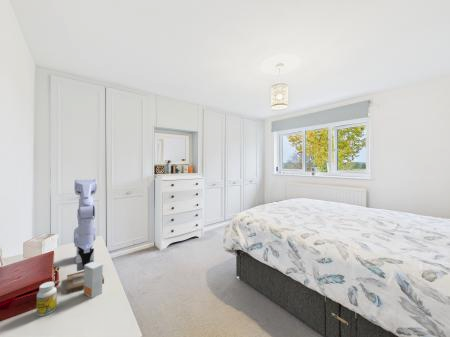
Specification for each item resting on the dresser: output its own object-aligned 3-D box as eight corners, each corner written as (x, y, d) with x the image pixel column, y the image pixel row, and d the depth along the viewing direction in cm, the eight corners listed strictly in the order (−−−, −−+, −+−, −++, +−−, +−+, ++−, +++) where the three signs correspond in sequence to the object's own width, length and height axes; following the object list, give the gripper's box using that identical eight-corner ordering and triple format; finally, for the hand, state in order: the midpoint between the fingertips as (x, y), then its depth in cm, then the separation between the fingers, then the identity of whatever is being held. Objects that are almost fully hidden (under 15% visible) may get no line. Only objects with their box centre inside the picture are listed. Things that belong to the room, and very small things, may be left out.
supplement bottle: (59, 304, 75) (60, 279, 75) (50, 315, 70) (51, 288, 69) (42, 306, 74) (43, 281, 73) (32, 317, 68) (32, 289, 68)
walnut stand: (66, 279, 91) (66, 274, 91) (100, 270, 99) (100, 266, 99) (66, 294, 81) (66, 289, 81) (103, 283, 89) (103, 278, 89)
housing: (92, 263, 93) (93, 248, 93) (93, 267, 90) (93, 251, 90) (76, 267, 90) (77, 251, 89) (77, 271, 86) (77, 255, 86)
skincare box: (83, 294, 81) (83, 264, 81) (94, 288, 85) (94, 260, 85) (91, 299, 78) (92, 268, 78) (102, 293, 82) (103, 264, 82)
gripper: (74, 230, 93) (74, 259, 93) (75, 239, 81) (74, 272, 82) (92, 227, 97) (92, 255, 97) (95, 236, 86) (95, 267, 86)
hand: (85, 263), depth 90 cm, fingers closed on housing, 4 cm apart
